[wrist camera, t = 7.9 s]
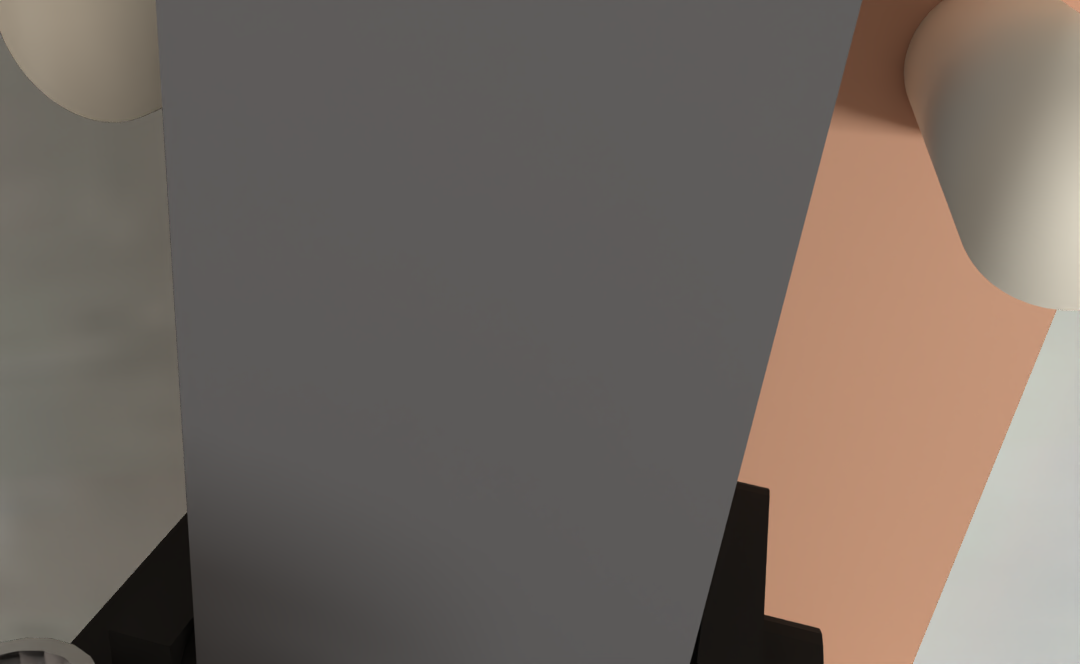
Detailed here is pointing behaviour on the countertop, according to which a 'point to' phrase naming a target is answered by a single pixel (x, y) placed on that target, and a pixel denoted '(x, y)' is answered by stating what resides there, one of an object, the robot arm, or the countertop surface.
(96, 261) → the countertop surface
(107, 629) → the robot arm
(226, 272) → the grey post with base
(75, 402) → the countertop surface
